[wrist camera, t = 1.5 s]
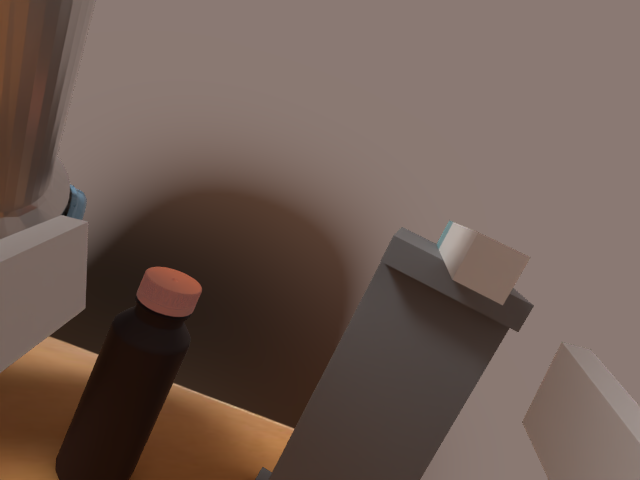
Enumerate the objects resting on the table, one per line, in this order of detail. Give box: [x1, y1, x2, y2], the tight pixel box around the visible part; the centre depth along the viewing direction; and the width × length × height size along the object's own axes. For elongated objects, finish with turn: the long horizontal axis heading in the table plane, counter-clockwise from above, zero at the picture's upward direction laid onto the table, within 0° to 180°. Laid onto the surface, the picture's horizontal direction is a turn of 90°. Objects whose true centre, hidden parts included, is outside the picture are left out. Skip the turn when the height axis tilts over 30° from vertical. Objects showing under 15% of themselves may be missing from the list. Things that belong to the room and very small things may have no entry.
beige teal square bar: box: [437, 221, 530, 305], centre depth 31 cm, size 21×3×3 cm, turn 166°
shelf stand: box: [255, 227, 534, 480], centre depth 38 cm, size 14×13×32 cm
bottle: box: [56, 267, 202, 480], centre depth 38 cm, size 7×7×20 cm
